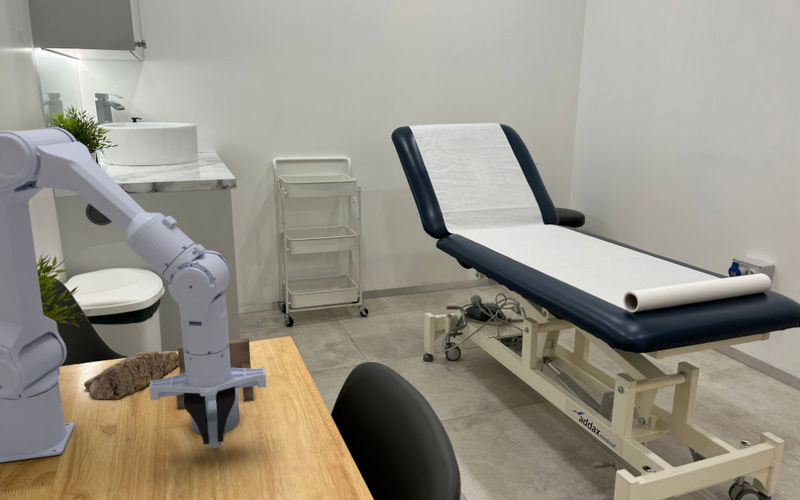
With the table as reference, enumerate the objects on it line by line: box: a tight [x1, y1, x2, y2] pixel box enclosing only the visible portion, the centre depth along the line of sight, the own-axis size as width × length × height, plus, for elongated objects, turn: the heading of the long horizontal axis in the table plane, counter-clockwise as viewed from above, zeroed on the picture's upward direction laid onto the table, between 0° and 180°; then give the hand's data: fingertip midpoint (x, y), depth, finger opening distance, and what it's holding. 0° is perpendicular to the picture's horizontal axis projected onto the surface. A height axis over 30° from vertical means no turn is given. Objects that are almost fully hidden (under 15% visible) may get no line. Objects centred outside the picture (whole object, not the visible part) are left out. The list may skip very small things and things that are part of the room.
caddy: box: [176, 337, 254, 410], centre depth 99 cm, size 12×9×7 cm
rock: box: [83, 350, 179, 400], centre depth 103 cm, size 15×10×6 cm
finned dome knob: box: [189, 388, 241, 449], centre depth 87 cm, size 7×13×6 cm, turn 16°
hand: (213, 439), depth 81 cm, fingers closed on finned dome knob
